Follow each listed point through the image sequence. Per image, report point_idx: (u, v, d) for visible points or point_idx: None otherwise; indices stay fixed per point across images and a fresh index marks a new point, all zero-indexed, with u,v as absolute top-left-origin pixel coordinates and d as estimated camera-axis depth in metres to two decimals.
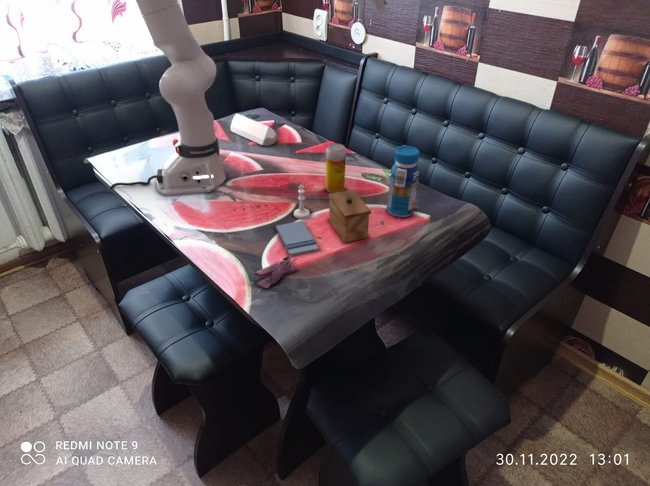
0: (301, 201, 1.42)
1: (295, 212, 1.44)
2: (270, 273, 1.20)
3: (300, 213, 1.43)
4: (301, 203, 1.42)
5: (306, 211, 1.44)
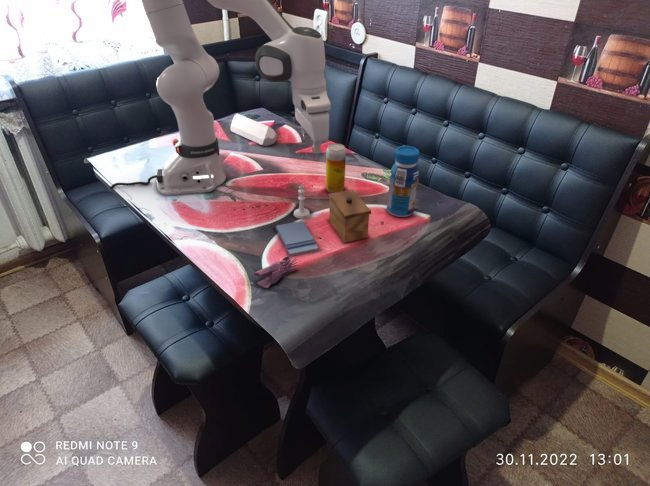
0: (301, 201, 1.42)
1: (295, 212, 1.44)
2: (270, 273, 1.20)
3: (300, 213, 1.43)
4: (301, 203, 1.42)
5: (306, 211, 1.44)
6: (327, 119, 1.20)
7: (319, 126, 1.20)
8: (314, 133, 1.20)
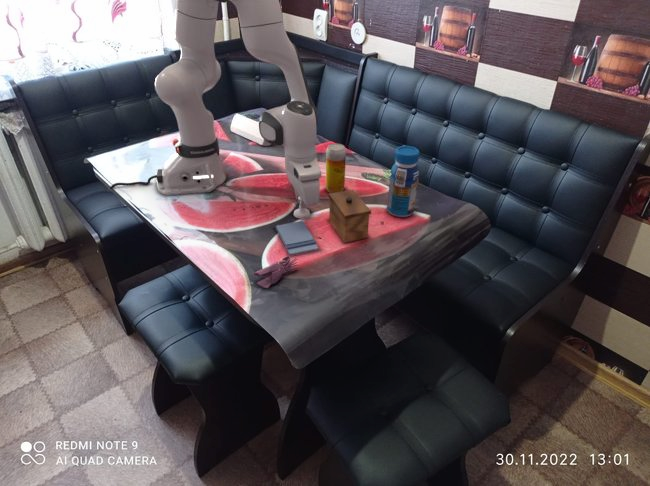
0: None
1: (295, 212, 1.44)
2: (270, 273, 1.20)
3: (300, 213, 1.43)
4: None
5: (306, 211, 1.44)
6: (318, 186, 1.30)
7: (310, 193, 1.30)
8: (305, 198, 1.31)
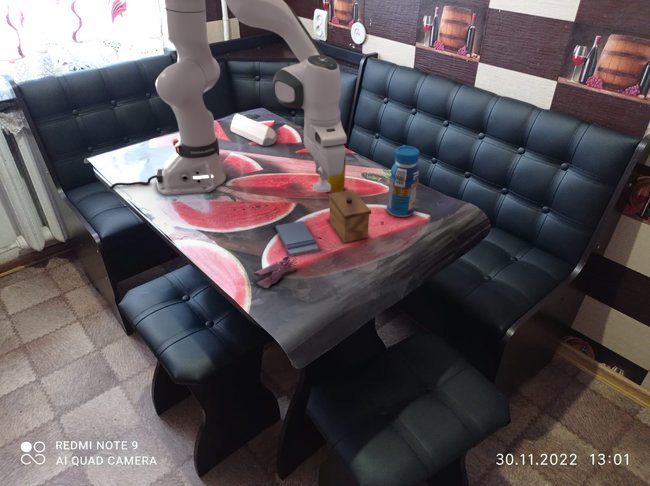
0: None
1: (315, 185, 1.28)
2: (270, 273, 1.20)
3: (321, 186, 1.28)
4: None
5: (327, 184, 1.29)
6: (342, 153, 1.15)
7: (334, 160, 1.14)
8: (329, 167, 1.15)
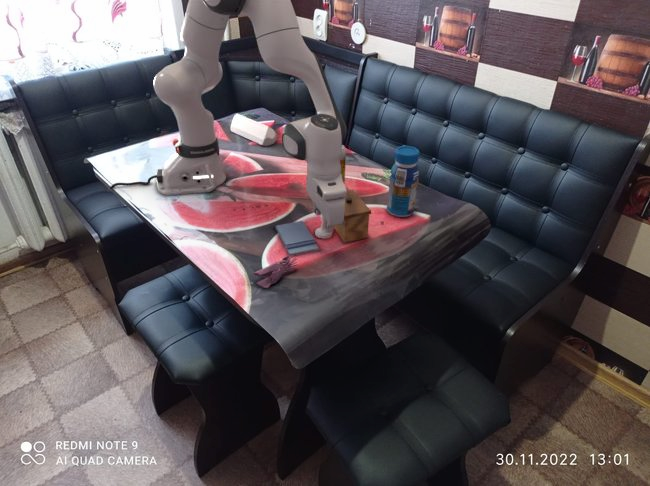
0: (323, 220, 1.34)
1: (317, 231, 1.36)
2: (270, 273, 1.20)
3: (322, 233, 1.35)
4: (323, 222, 1.34)
5: None
6: (343, 205, 1.22)
7: (335, 212, 1.22)
8: (330, 218, 1.22)
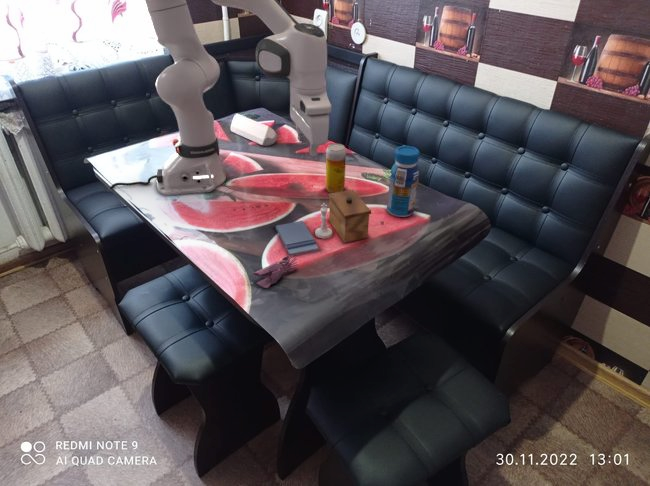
0: (323, 220, 1.34)
1: (317, 231, 1.36)
2: (270, 273, 1.20)
3: (322, 233, 1.35)
4: (323, 222, 1.34)
5: (328, 230, 1.36)
6: (327, 122, 1.15)
7: (318, 129, 1.15)
8: (313, 136, 1.15)
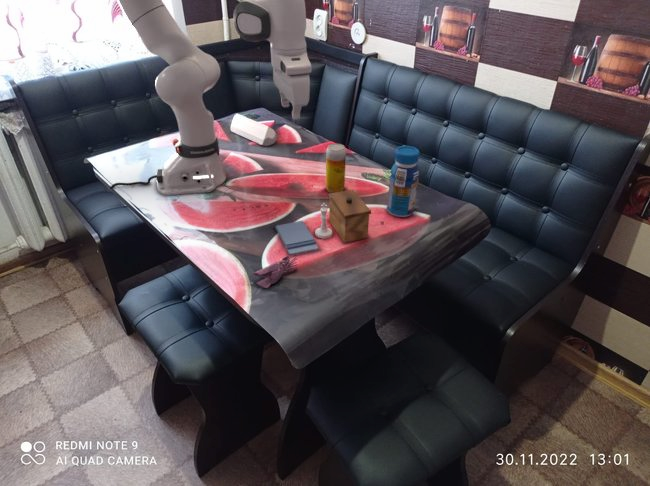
0: (323, 220, 1.34)
1: (317, 231, 1.36)
2: (270, 273, 1.20)
3: (322, 233, 1.35)
4: (323, 222, 1.34)
5: (328, 230, 1.36)
6: (307, 82, 1.15)
7: (299, 89, 1.15)
8: (294, 96, 1.16)
